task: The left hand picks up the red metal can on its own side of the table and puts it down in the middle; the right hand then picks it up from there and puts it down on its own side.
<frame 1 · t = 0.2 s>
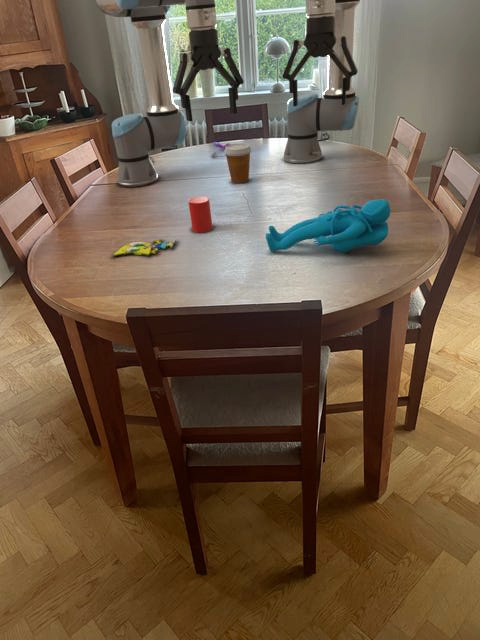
left hand: (212, 116, 135), 28 cm above the table, tool pointing down, fingers open, 13 cm apart
right hand: (319, 104, 136), 28 cm above the table, tool pointing down, fingers open, 13 cm apart
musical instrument: (223, 151, 213), on the table
can: (202, 228, 139), on the table
toy: (325, 249, 121), on the table
toy 2: (145, 249, 130), on the table
disposable coffee cup: (240, 181, 174), on the table
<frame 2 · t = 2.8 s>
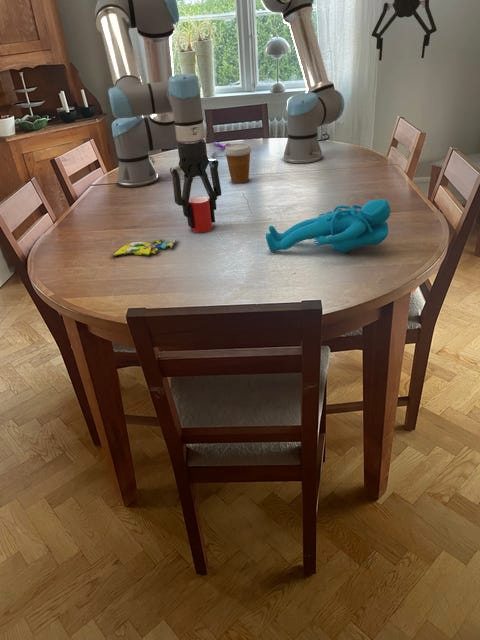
left hand: (201, 223, 138), 1 cm above the table, tool pointing down, fingers closed on can, 6 cm apart
right hand: (401, 59, 162), 34 cm above the table, tool pointing down, fingers open, 13 cm apart
can: (202, 228, 139), on the table, touching left hand
everything else where it was.
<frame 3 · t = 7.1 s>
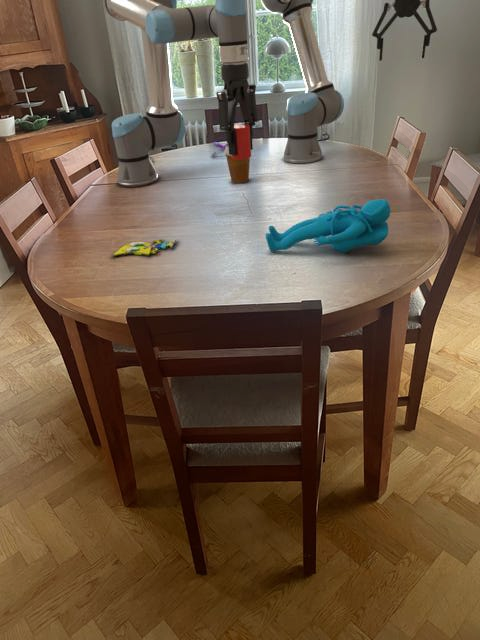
left hand: (241, 151, 141), 17 cm above the table, tool pointing down, fingers closed on can, 6 cm apart
right hand: (401, 59, 162), 34 cm above the table, tool pointing down, fingers open, 13 cm apart
can: (241, 156, 142), point 16 cm above the table, touching left hand
everything else where it was.
when the left hand's fingers open (3 cm above the table, at t = 11.7 s): can drops 2 cm, on the table.
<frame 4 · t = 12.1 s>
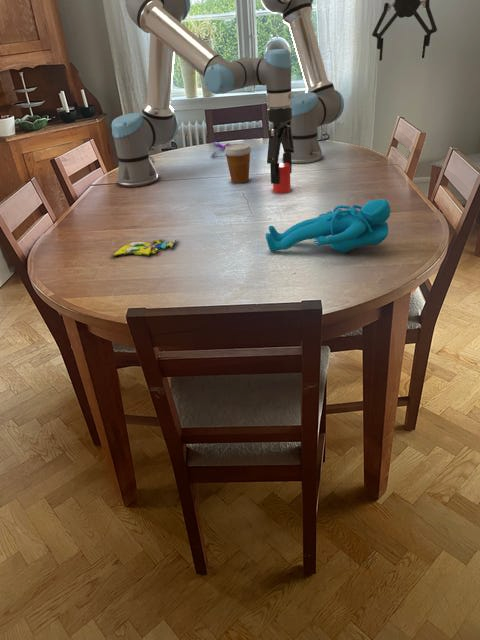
left hand: (281, 178, 159), 4 cm above the table, tool pointing down, fingers open, 11 cm apart
right hand: (401, 59, 162), 34 cm above the table, tool pointing down, fingers open, 13 cm apart
can: (281, 190, 162), on the table
everything else where it was.
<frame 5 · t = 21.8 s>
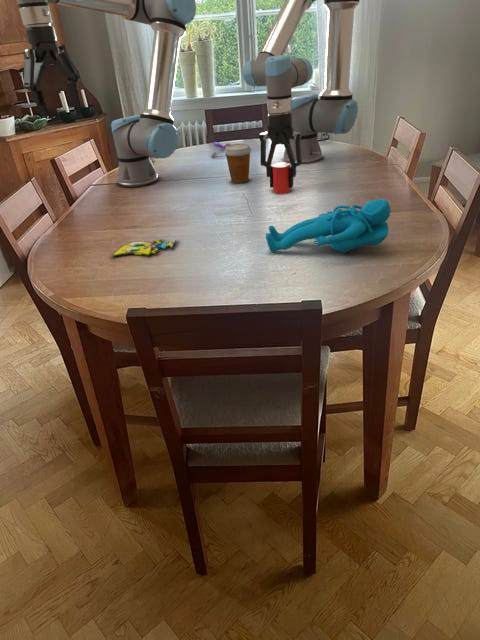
left hand: (61, 111, 140), 31 cm above the table, tool pointing down, fingers open, 13 cm apart
right hand: (281, 186, 161), 1 cm above the table, tool pointing down, fingers closed on can, 6 cm apart
can: (281, 190, 162), on the table, touching right hand
everything else where it was.
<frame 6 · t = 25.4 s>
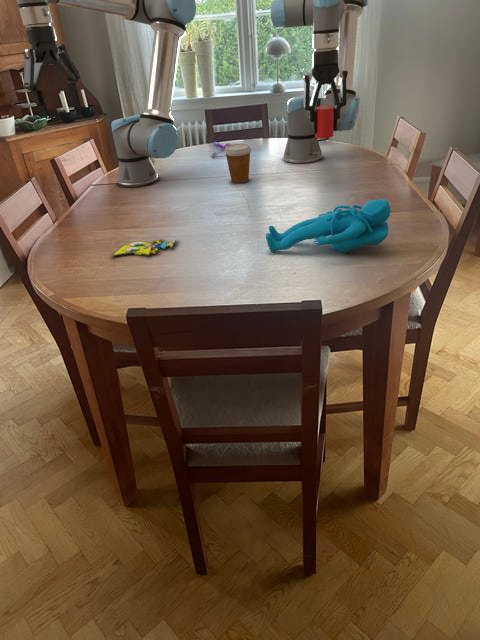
left hand: (61, 111, 140), 31 cm above the table, tool pointing down, fingers open, 13 cm apart
right hand: (324, 131, 155), 17 cm above the table, tool pointing down, fingers closed on can, 6 cm apart
can: (324, 136, 156), point 16 cm above the table, touching right hand
everything else where it was.
when the right hand's fingers open (3 cm above the table, at t = 29.2 s): can drops 2 cm, on the table.
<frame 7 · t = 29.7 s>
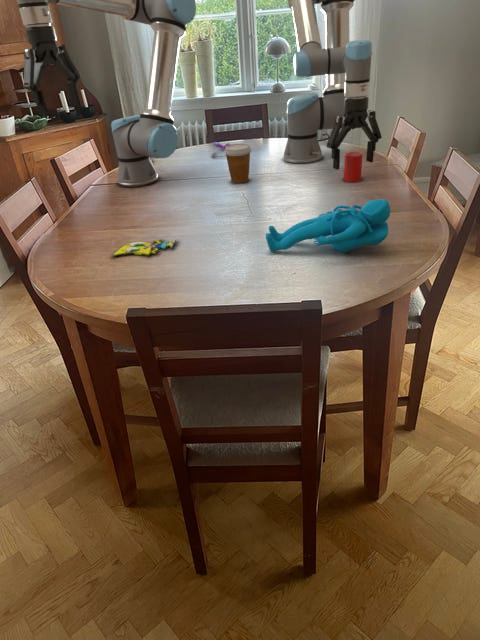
left hand: (61, 111, 140), 31 cm above the table, tool pointing down, fingers open, 13 cm apart
right hand: (353, 165, 163), 5 cm above the table, tool pointing down, fingers open, 13 cm apart
can: (352, 179, 166), on the table
everything else where it was.
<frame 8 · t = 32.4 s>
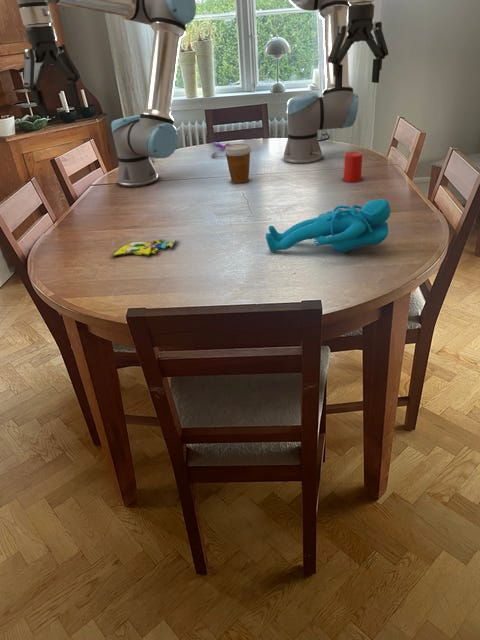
left hand: (61, 111, 140), 31 cm above the table, tool pointing down, fingers open, 13 cm apart
right hand: (357, 85, 150), 30 cm above the table, tool pointing down, fingers open, 13 cm apart
nothing on the table moved.
at the end: can inside the target area (0.1 cm from its centre), on the table; can tilted 0°; the two hands never held the can at the same time; the left hand is holding nothing; the right hand is holding nothing; can at rest at the end (0.0 cm/s) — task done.
